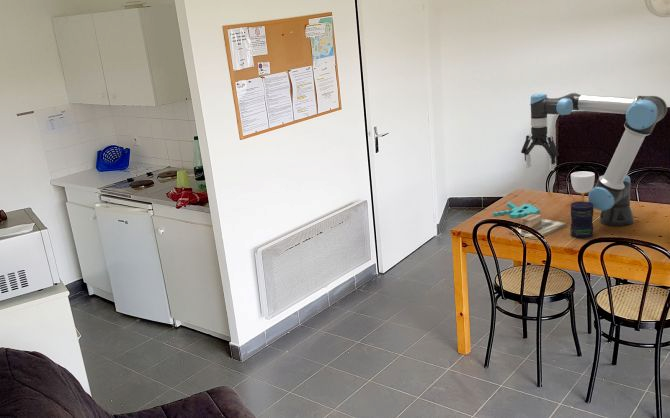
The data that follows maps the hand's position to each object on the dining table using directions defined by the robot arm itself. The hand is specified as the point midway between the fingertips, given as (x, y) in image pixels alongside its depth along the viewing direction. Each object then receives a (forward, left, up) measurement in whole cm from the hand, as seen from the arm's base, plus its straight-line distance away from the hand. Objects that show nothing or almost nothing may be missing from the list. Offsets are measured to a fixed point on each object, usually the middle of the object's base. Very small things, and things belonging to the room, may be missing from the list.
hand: (540, 168), depth 325 cm
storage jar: (-28, +8, -27) cm, 40 cm away
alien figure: (+17, -5, -27) cm, 33 cm away
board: (-8, +13, -27) cm, 31 cm away
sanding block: (-8, +18, -25) cm, 32 cm away
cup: (-3, -32, -27) cm, 42 cm away
